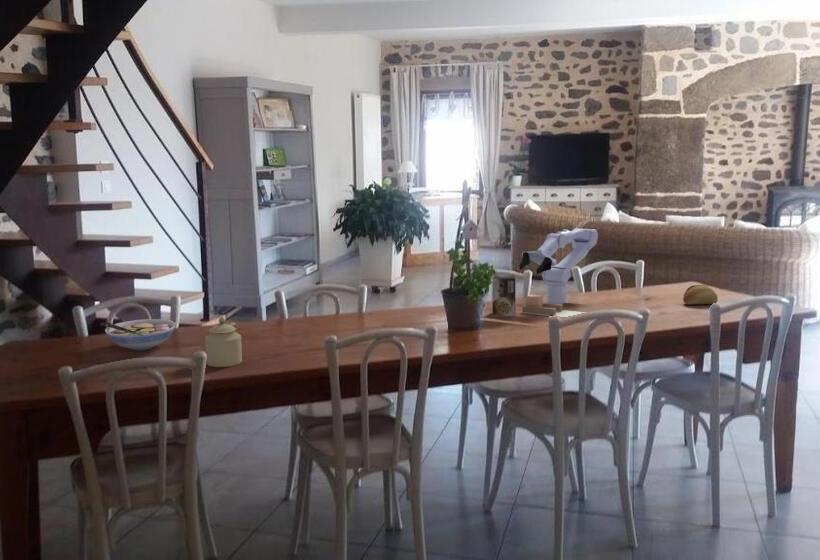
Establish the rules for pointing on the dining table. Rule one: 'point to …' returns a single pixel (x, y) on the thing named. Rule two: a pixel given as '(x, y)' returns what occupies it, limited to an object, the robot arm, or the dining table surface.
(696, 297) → the bread roll
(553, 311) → the chute board
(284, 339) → the dining table surface
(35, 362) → the dining table surface
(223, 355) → the sugar bowl
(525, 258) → the robot arm
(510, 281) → the coffee box
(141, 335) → the ramen bowl
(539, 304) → the block
